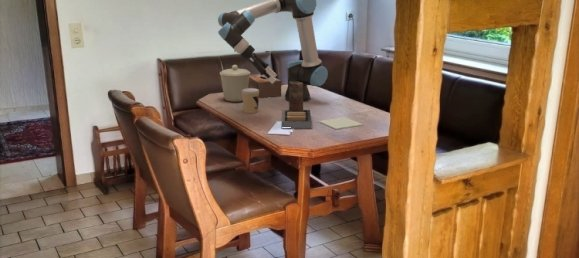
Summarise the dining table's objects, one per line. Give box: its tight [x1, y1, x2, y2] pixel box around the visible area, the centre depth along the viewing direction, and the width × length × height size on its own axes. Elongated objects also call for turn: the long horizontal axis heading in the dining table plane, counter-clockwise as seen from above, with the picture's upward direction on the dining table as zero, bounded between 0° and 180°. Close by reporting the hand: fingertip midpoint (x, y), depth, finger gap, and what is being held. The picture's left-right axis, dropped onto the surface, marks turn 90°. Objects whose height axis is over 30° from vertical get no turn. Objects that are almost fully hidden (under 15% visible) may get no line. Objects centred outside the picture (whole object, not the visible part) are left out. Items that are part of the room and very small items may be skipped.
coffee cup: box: [242, 88, 260, 114], centre depth 304 cm, size 9×9×12 cm
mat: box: [318, 116, 364, 131], centre depth 282 cm, size 16×16×1 cm
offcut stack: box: [287, 112, 306, 121], centre depth 278 cm, size 4×9×6 cm, turn 90°
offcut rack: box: [281, 109, 312, 130], centre depth 284 cm, size 24×14×4 cm, turn 0°
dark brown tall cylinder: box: [288, 81, 304, 112], centre depth 286 cm, size 8×7×20 cm
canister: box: [219, 64, 251, 103], centre depth 329 cm, size 18×18×21 cm
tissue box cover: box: [248, 73, 282, 99], centre depth 349 cm, size 26×14×10 cm, turn 21°
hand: (274, 79), depth 283 cm, fingers open, 13 cm apart
